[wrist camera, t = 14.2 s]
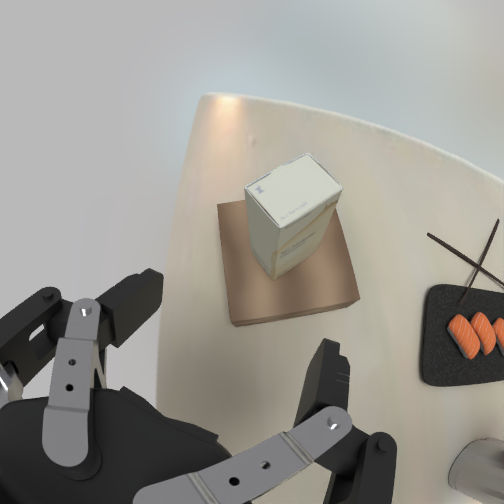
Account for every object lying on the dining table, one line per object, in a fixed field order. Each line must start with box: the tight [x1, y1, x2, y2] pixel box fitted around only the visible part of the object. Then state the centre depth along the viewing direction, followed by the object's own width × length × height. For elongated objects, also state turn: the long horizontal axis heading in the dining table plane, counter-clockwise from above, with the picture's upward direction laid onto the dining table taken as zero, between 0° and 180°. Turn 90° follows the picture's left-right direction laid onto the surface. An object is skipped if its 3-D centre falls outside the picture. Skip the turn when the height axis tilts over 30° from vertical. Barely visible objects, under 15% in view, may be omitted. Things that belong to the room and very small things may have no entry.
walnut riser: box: [217, 200, 360, 327], centre depth 33 cm, size 14×14×5 cm
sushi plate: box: [422, 219, 504, 387], centre depth 30 cm, size 29×30×4 cm
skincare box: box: [244, 153, 343, 280], centre depth 25 cm, size 6×4×12 cm
